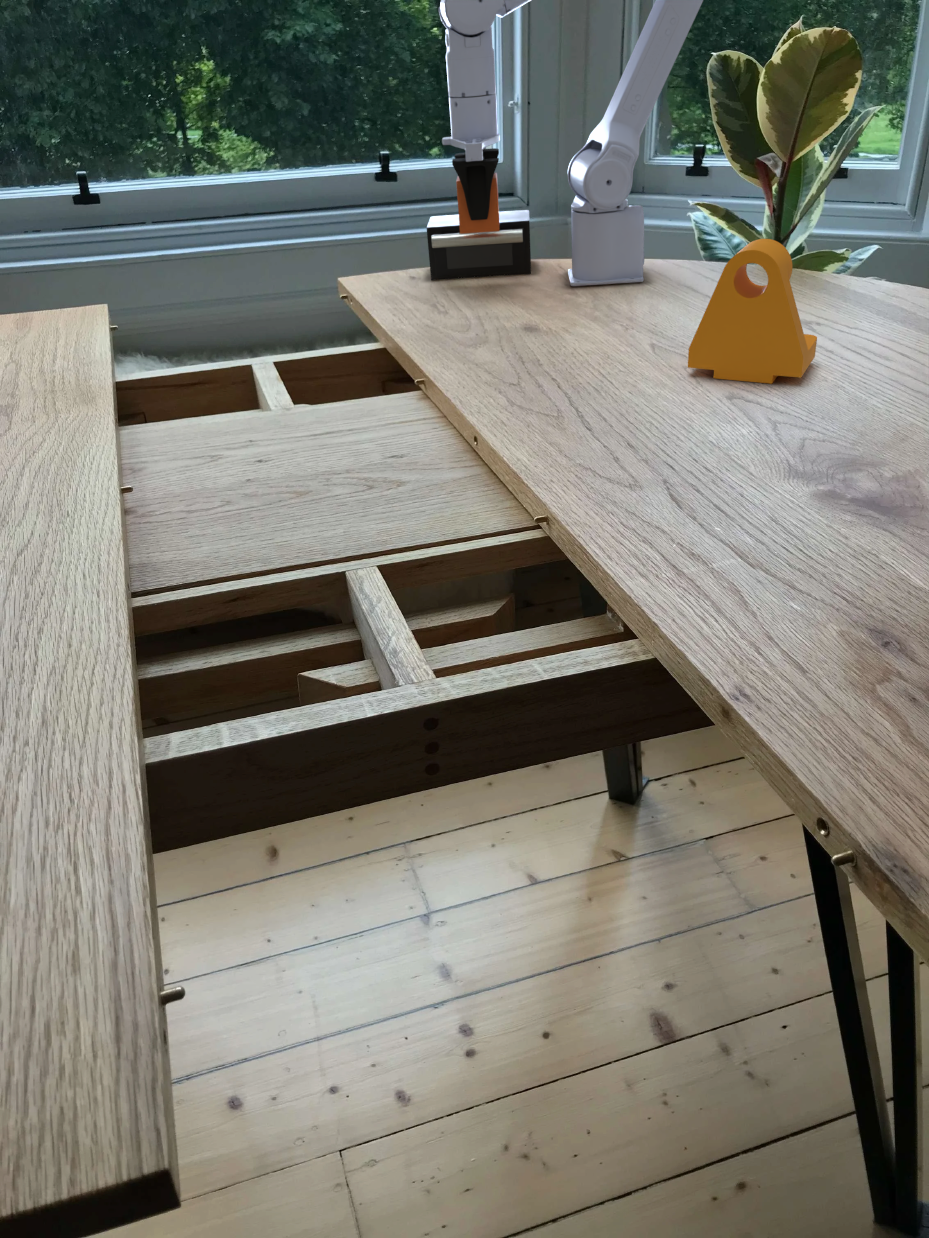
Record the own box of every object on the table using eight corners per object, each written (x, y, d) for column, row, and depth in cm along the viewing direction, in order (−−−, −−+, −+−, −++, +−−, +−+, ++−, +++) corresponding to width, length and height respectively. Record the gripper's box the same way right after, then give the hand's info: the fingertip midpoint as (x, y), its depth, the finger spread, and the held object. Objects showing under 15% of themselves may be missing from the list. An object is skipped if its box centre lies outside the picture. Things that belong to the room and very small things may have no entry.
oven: (530, 261, 142) (528, 209, 139) (531, 283, 131) (529, 228, 127) (435, 267, 143) (430, 216, 140) (428, 290, 132) (423, 235, 128)
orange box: (499, 224, 127) (496, 172, 124) (499, 231, 123) (496, 178, 120) (461, 227, 127) (457, 175, 124) (460, 234, 124) (456, 181, 120)
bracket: (815, 362, 96) (831, 234, 90) (800, 386, 91) (815, 252, 85) (708, 353, 101) (715, 231, 95) (687, 375, 96) (694, 248, 89)
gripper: (442, 93, 124) (450, 207, 131) (435, 103, 111) (445, 229, 119) (498, 88, 123) (503, 204, 130) (497, 98, 111) (503, 225, 118)
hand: (479, 215), depth 124 cm, fingers closed on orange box, 4 cm apart
